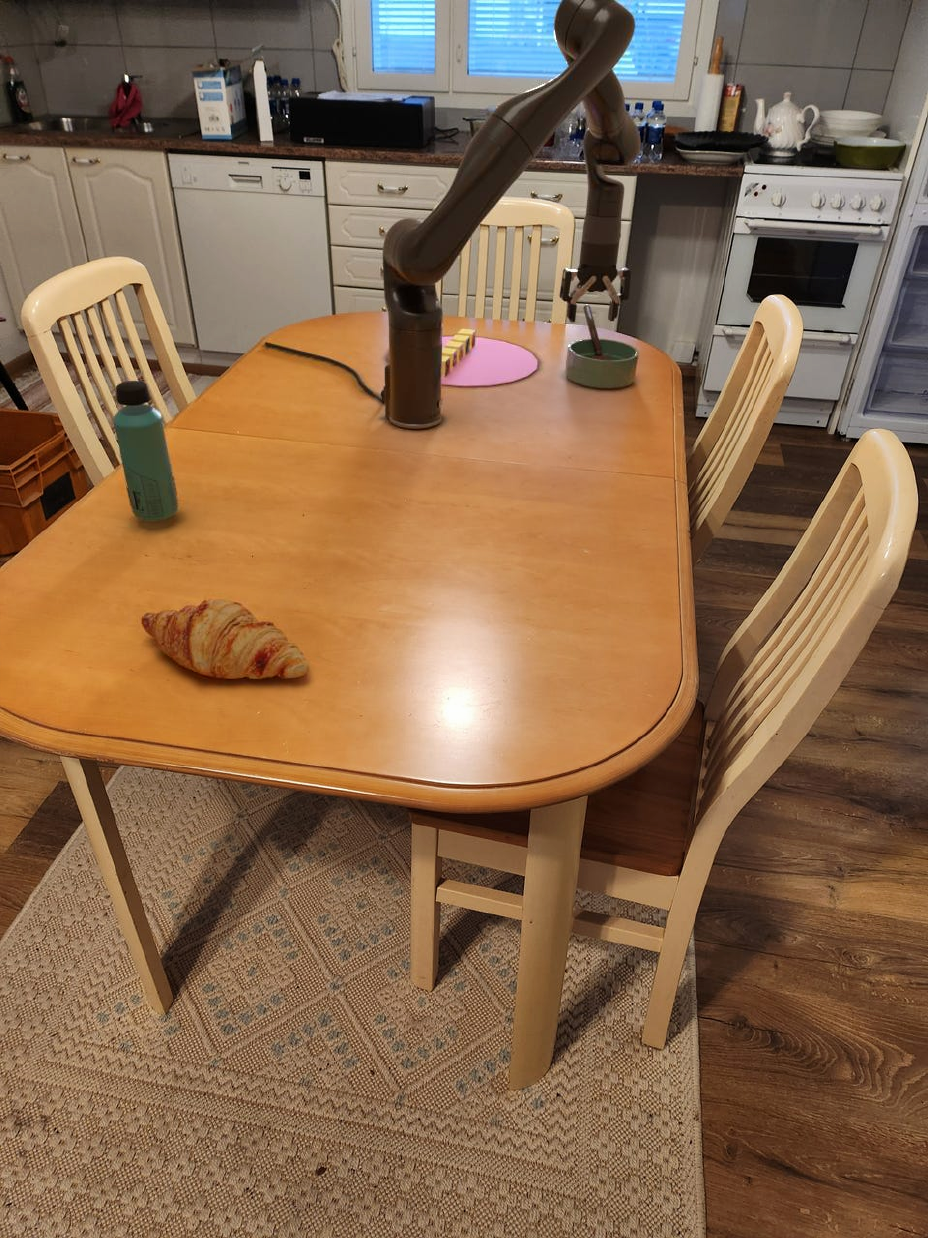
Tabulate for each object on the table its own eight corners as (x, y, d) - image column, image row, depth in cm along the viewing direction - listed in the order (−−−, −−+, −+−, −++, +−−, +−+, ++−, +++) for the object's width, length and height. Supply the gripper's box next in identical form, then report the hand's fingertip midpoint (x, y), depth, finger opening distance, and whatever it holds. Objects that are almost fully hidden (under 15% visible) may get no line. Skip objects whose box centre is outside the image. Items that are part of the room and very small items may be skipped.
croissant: (322, 688, 100) (334, 621, 98) (282, 705, 90) (295, 630, 89) (163, 644, 104) (173, 580, 103) (108, 655, 95) (119, 584, 94)
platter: (365, 373, 176) (365, 357, 174) (416, 330, 201) (416, 315, 199) (519, 395, 169) (520, 378, 167) (551, 347, 195) (553, 331, 193)
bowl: (552, 379, 177) (555, 350, 174) (585, 362, 187) (588, 334, 184) (615, 396, 171) (619, 366, 167) (645, 377, 181) (650, 348, 177)
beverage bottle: (190, 514, 125) (168, 379, 114) (162, 535, 120) (137, 396, 109) (151, 506, 127) (126, 372, 115) (123, 526, 122) (93, 388, 110)
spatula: (615, 381, 176) (622, 328, 170) (596, 382, 175) (603, 328, 169) (589, 353, 190) (595, 303, 184) (571, 354, 189) (577, 303, 183)
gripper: (628, 233, 177) (617, 315, 186) (561, 234, 174) (553, 316, 184) (641, 242, 171) (629, 325, 180) (571, 242, 168) (563, 327, 178)
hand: (591, 320), depth 182 cm, fingers open, 8 cm apart
